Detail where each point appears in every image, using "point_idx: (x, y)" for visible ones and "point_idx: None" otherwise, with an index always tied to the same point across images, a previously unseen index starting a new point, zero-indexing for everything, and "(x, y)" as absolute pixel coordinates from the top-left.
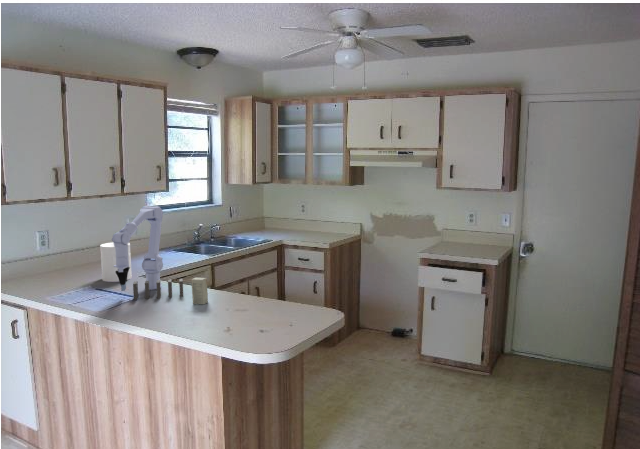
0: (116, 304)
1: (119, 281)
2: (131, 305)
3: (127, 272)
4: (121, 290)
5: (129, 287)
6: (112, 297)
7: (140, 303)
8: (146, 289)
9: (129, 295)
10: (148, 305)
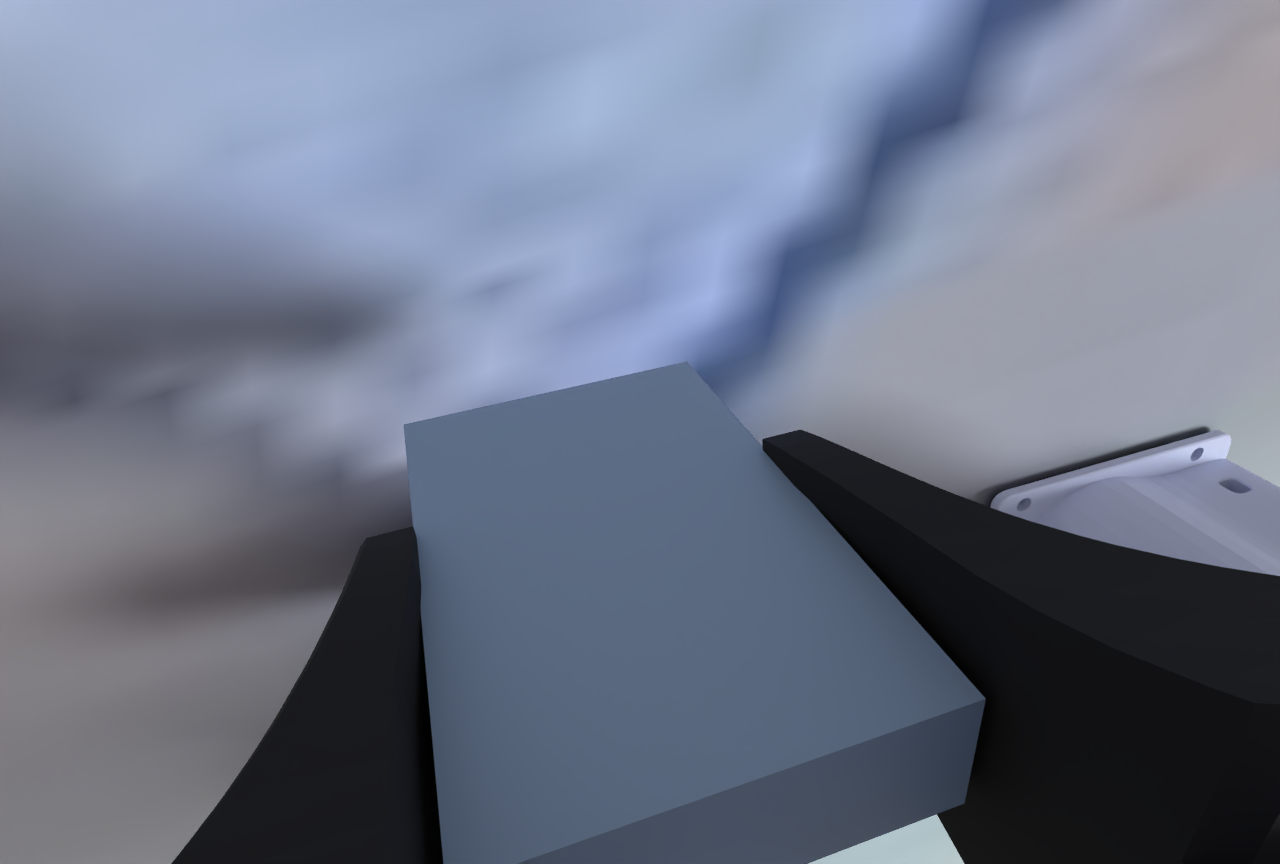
0: (38, 306)
1: (332, 618)
2: (25, 629)
3: (964, 849)
4: (405, 434)
5: (1271, 175)
6: (670, 11)
7: (199, 711)
8: None
9: (755, 348)
10: (88, 856)
